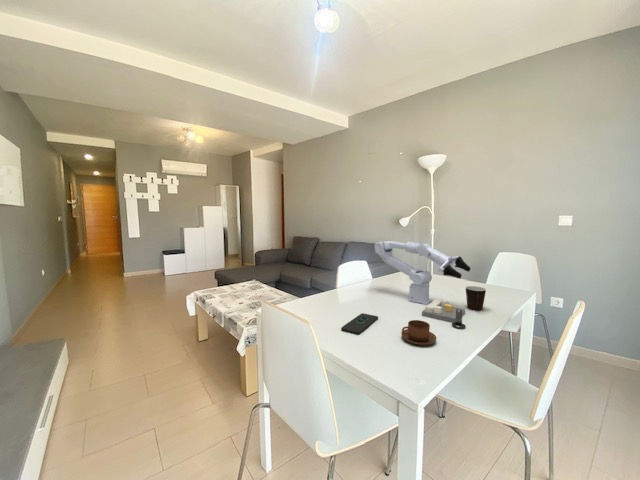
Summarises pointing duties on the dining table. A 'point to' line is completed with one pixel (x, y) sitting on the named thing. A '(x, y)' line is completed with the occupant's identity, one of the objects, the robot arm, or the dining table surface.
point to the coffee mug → (475, 297)
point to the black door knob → (458, 320)
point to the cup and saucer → (418, 333)
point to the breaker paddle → (448, 308)
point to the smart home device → (359, 324)
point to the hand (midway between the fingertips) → (465, 273)
